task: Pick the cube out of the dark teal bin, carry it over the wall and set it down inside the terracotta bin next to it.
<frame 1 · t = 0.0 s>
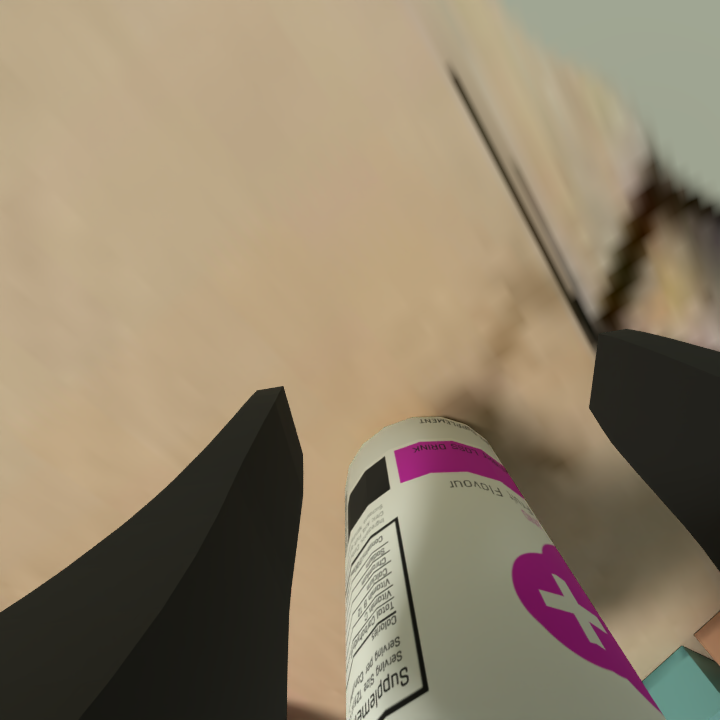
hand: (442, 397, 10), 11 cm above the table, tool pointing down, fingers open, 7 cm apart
supplement can: (420, 476, 23), on the table
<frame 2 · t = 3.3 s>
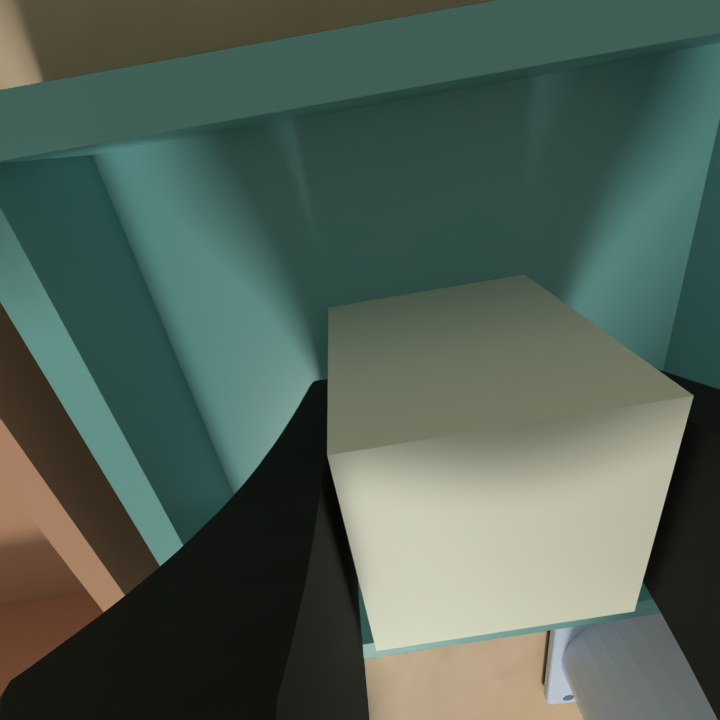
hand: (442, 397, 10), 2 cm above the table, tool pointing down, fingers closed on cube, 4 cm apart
cube: (433, 375, 11), point 1 cm above the table, touching gripper, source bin
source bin: (428, 363, 11), on the table
when the fingers open (3 cm above the table, at t = 7.0 s): cube drops 1 cm, resting on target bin.
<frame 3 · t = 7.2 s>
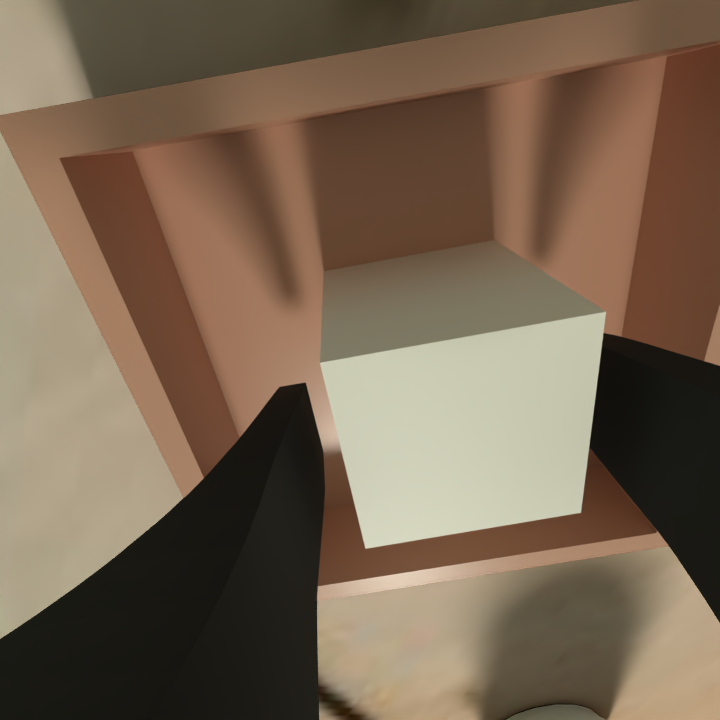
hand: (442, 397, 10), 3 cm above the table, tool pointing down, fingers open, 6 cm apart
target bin: (415, 335, 13), on the table
cube: (417, 332, 12), point 1 cm above the table, touching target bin
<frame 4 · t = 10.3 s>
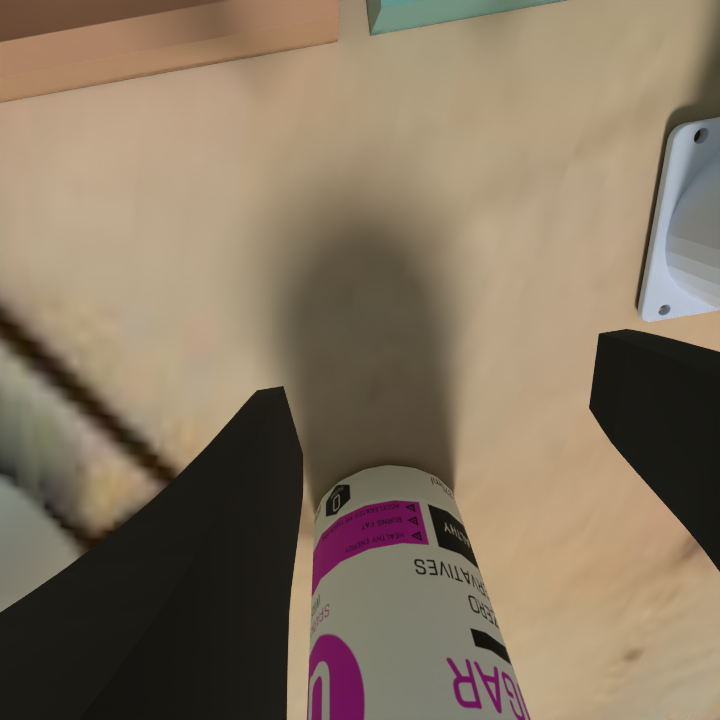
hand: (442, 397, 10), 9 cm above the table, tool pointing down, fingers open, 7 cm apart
supplement can: (384, 507, 25), on the table
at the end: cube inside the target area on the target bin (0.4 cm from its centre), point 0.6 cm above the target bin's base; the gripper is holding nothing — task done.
